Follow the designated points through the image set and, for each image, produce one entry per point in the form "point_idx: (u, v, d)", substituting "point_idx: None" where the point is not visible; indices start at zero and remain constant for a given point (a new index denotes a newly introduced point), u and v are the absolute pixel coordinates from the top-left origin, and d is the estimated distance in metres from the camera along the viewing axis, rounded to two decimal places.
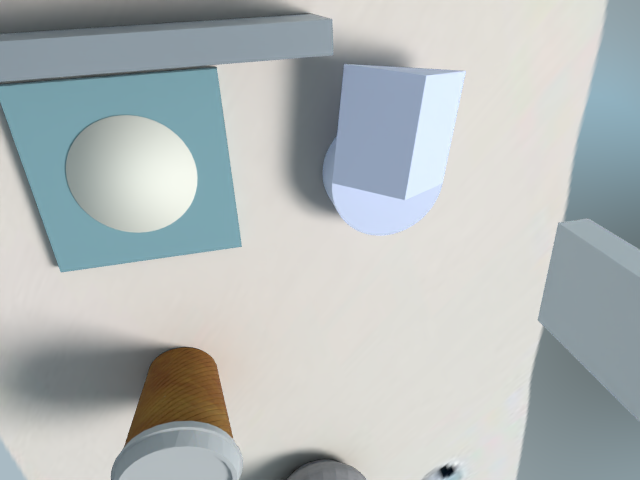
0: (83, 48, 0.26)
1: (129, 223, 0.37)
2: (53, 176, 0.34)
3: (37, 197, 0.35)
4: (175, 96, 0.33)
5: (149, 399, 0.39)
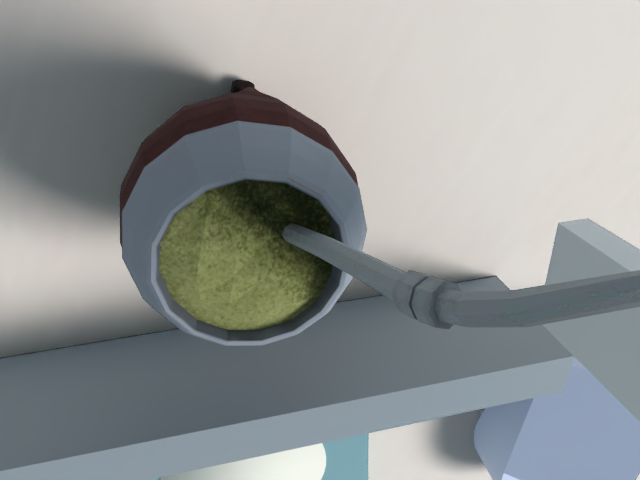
0: (227, 438, 0.18)
1: None
2: None
3: None
4: None
5: None
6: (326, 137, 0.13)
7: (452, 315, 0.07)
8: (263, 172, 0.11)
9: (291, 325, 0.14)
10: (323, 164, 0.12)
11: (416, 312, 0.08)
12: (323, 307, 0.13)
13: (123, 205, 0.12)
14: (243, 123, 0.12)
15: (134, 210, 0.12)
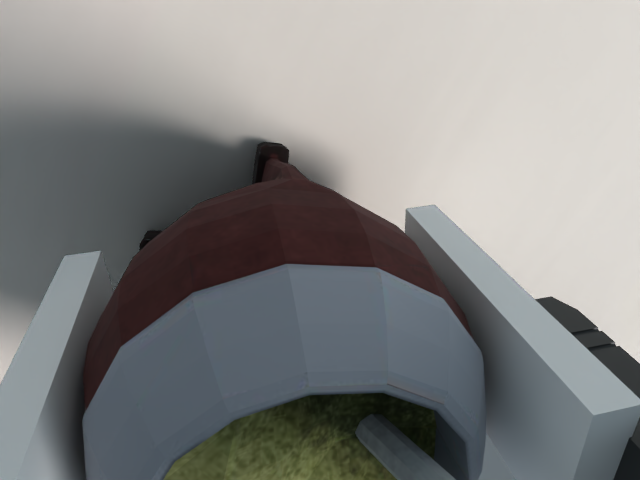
0: None
1: None
2: None
3: None
4: None
5: None
6: (426, 266, 0.08)
7: None
8: (342, 377, 0.06)
9: None
10: (438, 334, 0.07)
11: None
12: None
13: (86, 400, 0.07)
14: (297, 272, 0.06)
15: (101, 429, 0.06)
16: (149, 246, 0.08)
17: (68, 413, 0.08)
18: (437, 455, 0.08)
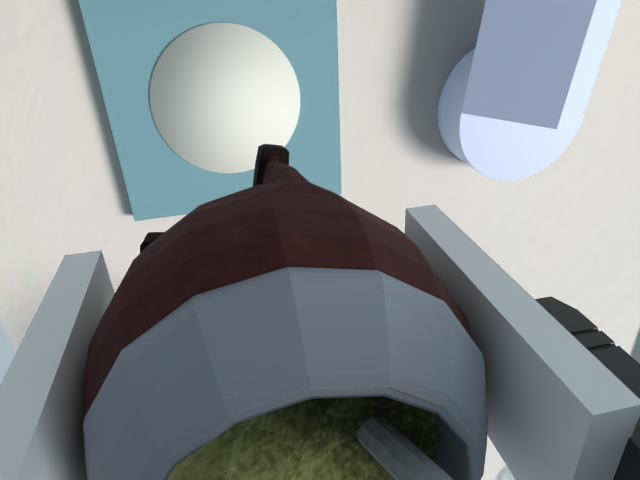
0: None
1: (217, 162, 0.31)
2: (134, 99, 0.28)
3: (114, 126, 0.29)
4: None
5: None
6: (427, 269, 0.08)
7: None
8: (343, 381, 0.06)
9: None
10: (439, 338, 0.07)
11: None
12: None
13: (87, 403, 0.07)
14: (298, 274, 0.06)
15: (103, 432, 0.06)
16: (150, 248, 0.08)
17: (68, 413, 0.08)
18: (438, 458, 0.08)
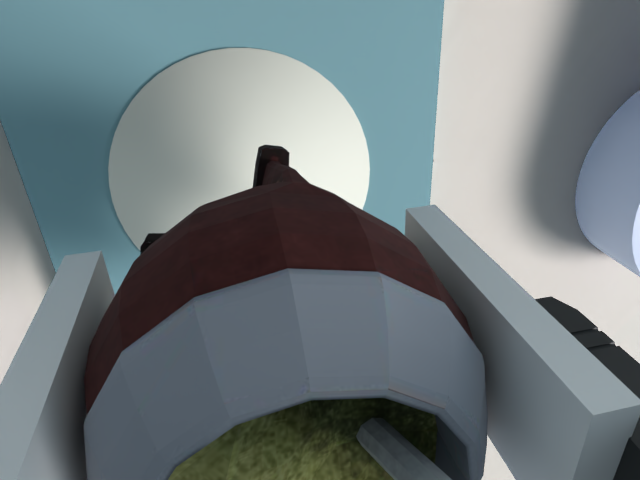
0: None
1: None
2: (81, 183, 0.16)
3: (47, 229, 0.16)
4: (352, 6, 0.15)
5: None
6: (427, 270, 0.08)
7: None
8: (343, 382, 0.06)
9: None
10: (438, 339, 0.07)
11: None
12: None
13: (87, 404, 0.07)
14: (299, 276, 0.06)
15: (103, 434, 0.06)
16: (150, 250, 0.08)
17: (68, 413, 0.08)
18: (438, 459, 0.08)
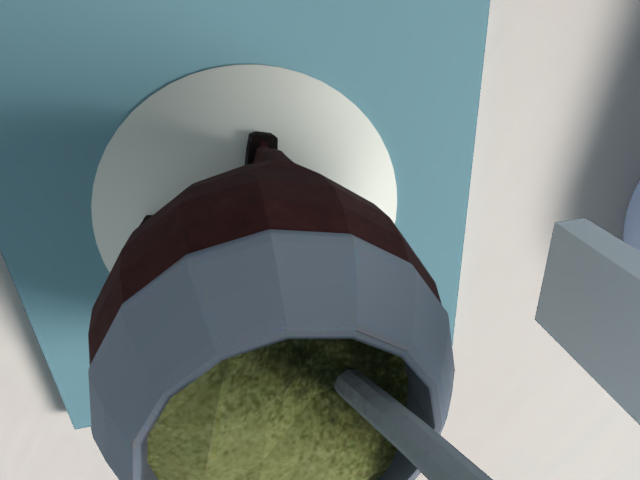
0: None
1: None
2: (59, 224, 0.13)
3: (20, 276, 0.14)
4: (381, 14, 0.13)
5: None
6: (397, 237, 0.09)
7: None
8: (316, 324, 0.07)
9: None
10: (404, 293, 0.08)
11: None
12: None
13: (91, 354, 0.08)
14: (279, 236, 0.07)
15: (106, 375, 0.07)
16: (147, 220, 0.09)
17: None
18: (409, 408, 0.09)
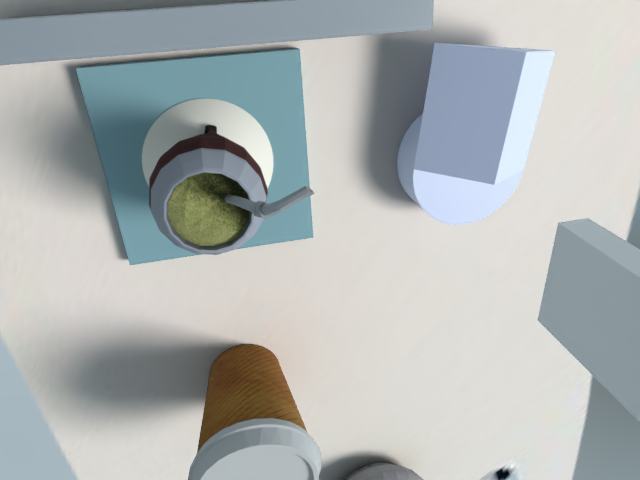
0: (182, 22, 0.25)
1: None
2: (128, 163, 0.33)
3: (111, 186, 0.33)
4: (256, 78, 0.32)
5: (220, 397, 0.37)
6: (244, 154, 0.28)
7: (264, 211, 0.22)
8: (211, 169, 0.26)
9: (230, 243, 0.28)
10: (239, 166, 0.27)
11: (257, 214, 0.23)
12: (244, 233, 0.28)
13: (151, 186, 0.27)
14: (203, 149, 0.27)
15: (156, 187, 0.27)
16: None
17: None
18: (250, 210, 0.29)
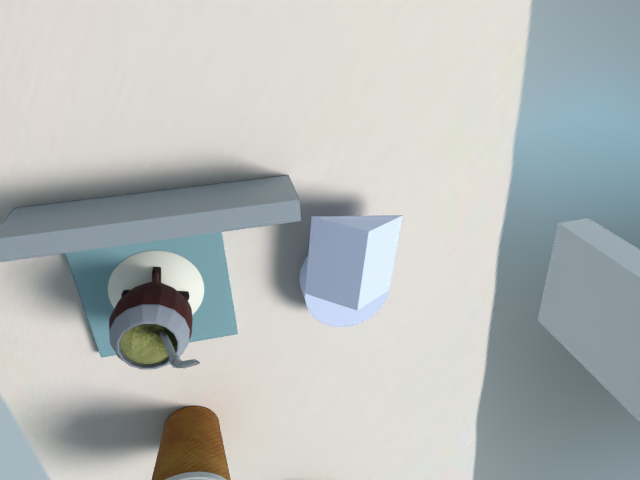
0: (128, 229, 0.39)
1: None
2: (98, 293, 0.46)
3: (86, 307, 0.47)
4: (188, 236, 0.46)
5: (167, 452, 0.51)
6: (173, 303, 0.42)
7: (174, 365, 0.36)
8: (148, 321, 0.40)
9: (164, 362, 0.42)
10: (168, 315, 0.41)
11: None
12: None
13: (109, 327, 0.41)
14: (144, 305, 0.40)
15: (112, 330, 0.40)
16: (121, 299, 0.42)
17: None
18: None
